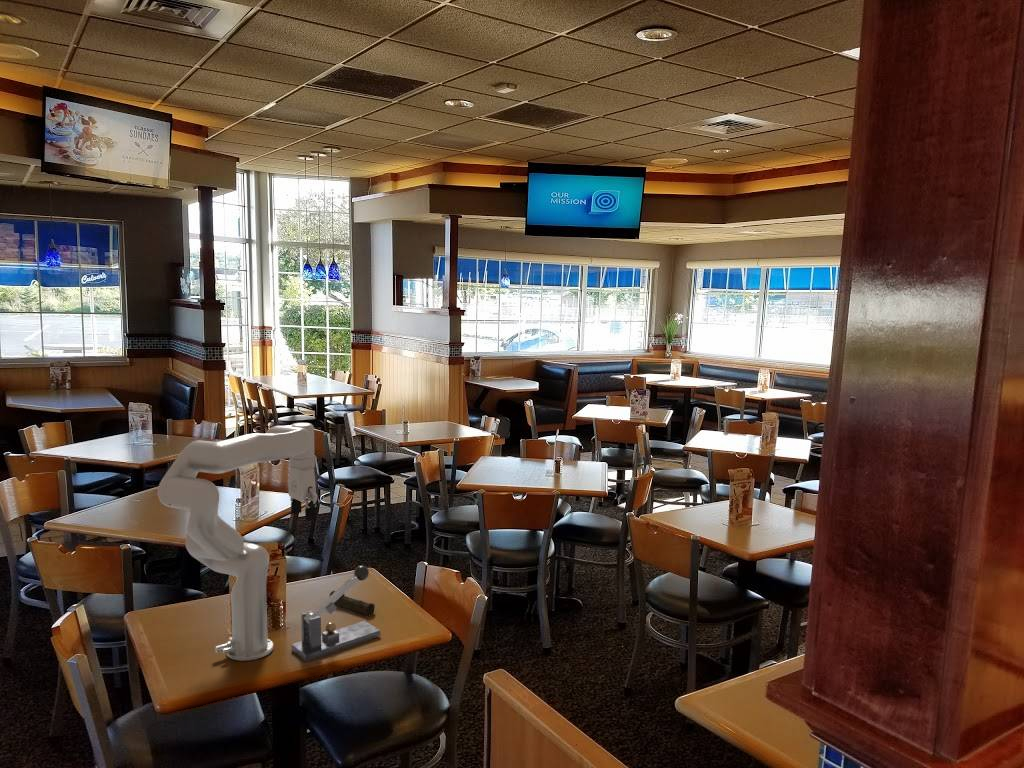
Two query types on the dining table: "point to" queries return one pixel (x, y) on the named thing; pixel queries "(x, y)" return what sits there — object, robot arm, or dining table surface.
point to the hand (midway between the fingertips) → (303, 516)
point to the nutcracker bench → (325, 648)
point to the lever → (338, 593)
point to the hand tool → (354, 605)
